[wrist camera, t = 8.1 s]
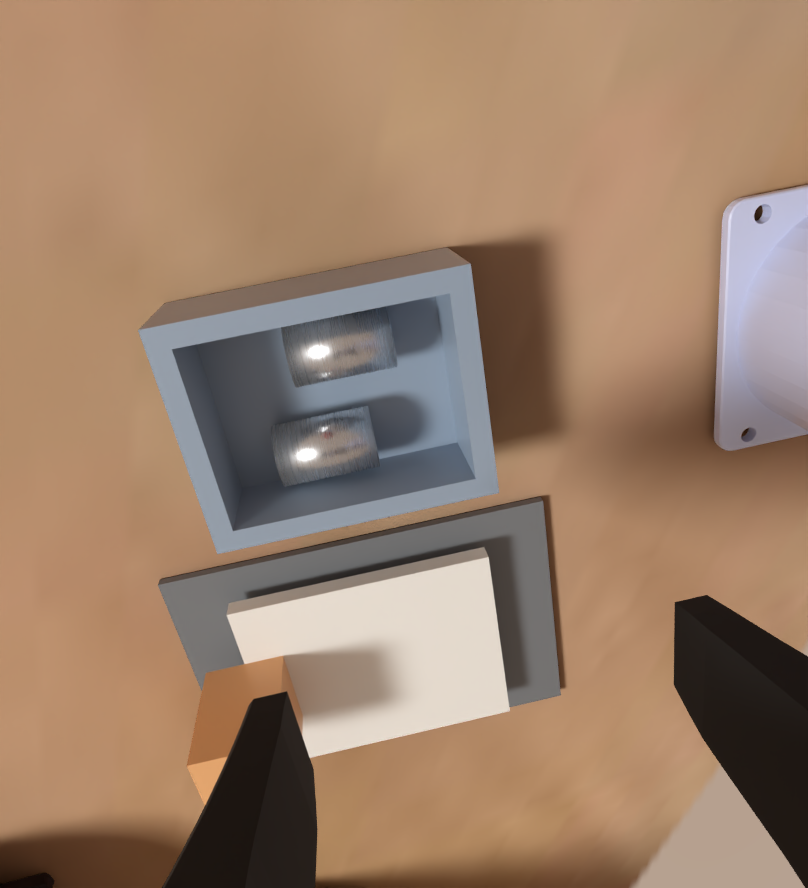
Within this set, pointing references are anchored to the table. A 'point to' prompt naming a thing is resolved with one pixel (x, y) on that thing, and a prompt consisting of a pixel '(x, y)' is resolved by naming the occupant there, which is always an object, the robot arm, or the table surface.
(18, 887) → the mate gourd
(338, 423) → the dowel
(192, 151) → the table surface
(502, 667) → the lid
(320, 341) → the dowel
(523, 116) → the table surface
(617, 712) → the table surface
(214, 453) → the tub
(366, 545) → the mat
